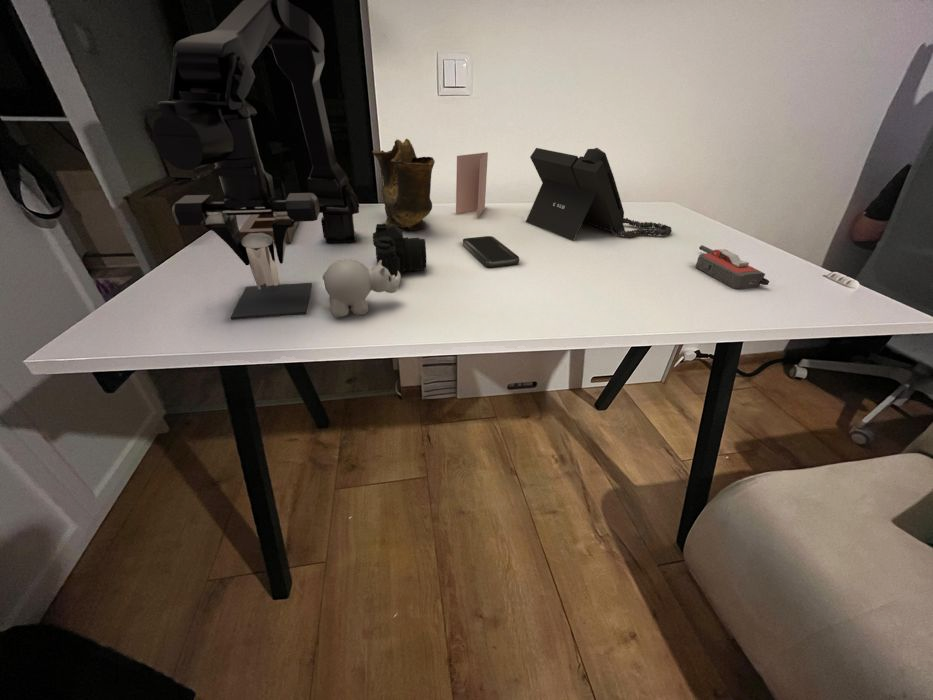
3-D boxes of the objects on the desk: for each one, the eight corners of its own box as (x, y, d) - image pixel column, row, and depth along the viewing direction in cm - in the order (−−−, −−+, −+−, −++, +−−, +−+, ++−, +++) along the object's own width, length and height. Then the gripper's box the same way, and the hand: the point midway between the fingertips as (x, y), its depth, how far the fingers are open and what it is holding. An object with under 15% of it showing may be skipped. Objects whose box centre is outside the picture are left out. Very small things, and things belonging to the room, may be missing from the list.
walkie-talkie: (775, 289, 78) (702, 252, 94) (786, 267, 76) (709, 233, 92) (738, 292, 76) (670, 254, 92) (748, 270, 74) (676, 235, 90)
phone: (487, 262, 81) (461, 238, 92) (486, 268, 82) (461, 243, 93) (521, 258, 83) (492, 235, 95) (521, 263, 84) (492, 240, 96)
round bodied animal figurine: (406, 313, 65) (404, 264, 61) (330, 323, 62) (320, 271, 57) (398, 294, 71) (395, 247, 66) (327, 302, 68) (318, 253, 63)
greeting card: (482, 207, 120) (485, 151, 112) (500, 212, 116) (505, 155, 107) (453, 213, 113) (454, 155, 105) (471, 219, 109) (474, 159, 101)
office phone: (676, 234, 105) (705, 148, 93) (605, 254, 91) (628, 156, 79) (590, 207, 124) (605, 133, 113) (520, 219, 110) (529, 137, 99)
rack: (299, 219, 104) (296, 207, 102) (290, 243, 90) (287, 230, 88) (257, 221, 102) (254, 209, 100) (241, 245, 88) (237, 232, 86)
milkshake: (282, 296, 65) (268, 234, 59) (249, 294, 64) (231, 232, 59) (293, 283, 68) (281, 225, 63) (261, 282, 68) (246, 223, 63)
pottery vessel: (444, 238, 96) (444, 146, 85) (400, 243, 92) (394, 147, 81) (412, 210, 114) (408, 132, 103) (374, 214, 110) (366, 132, 99)
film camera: (429, 287, 74) (428, 239, 69) (375, 289, 72) (370, 240, 67) (423, 256, 86) (421, 213, 81) (377, 257, 84) (372, 214, 79)
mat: (311, 284, 73) (311, 282, 73) (305, 313, 64) (305, 311, 64) (246, 288, 71) (245, 286, 71) (230, 319, 62) (230, 317, 62)
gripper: (312, 146, 63) (329, 243, 72) (180, 146, 60) (214, 248, 68) (306, 159, 54) (325, 267, 63) (150, 160, 51) (194, 275, 60)
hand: (265, 263), depth 64 cm, fingers closed on milkshake, 5 cm apart
